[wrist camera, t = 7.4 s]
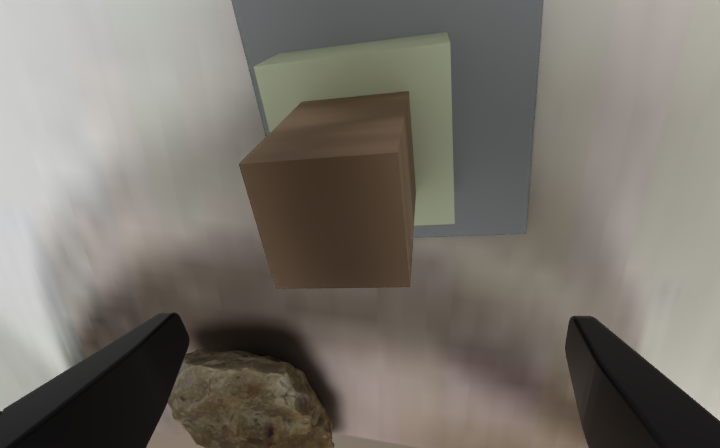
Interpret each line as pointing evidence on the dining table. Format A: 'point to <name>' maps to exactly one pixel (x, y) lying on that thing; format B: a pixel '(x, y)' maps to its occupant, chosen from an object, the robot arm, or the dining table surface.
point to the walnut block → (337, 193)
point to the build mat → (468, 85)
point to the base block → (378, 76)
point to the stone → (247, 402)
